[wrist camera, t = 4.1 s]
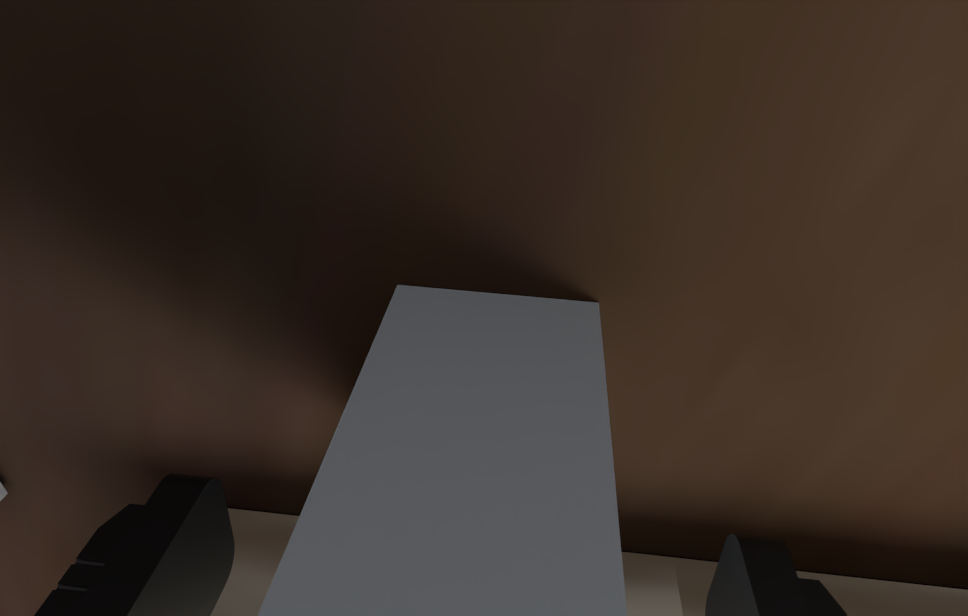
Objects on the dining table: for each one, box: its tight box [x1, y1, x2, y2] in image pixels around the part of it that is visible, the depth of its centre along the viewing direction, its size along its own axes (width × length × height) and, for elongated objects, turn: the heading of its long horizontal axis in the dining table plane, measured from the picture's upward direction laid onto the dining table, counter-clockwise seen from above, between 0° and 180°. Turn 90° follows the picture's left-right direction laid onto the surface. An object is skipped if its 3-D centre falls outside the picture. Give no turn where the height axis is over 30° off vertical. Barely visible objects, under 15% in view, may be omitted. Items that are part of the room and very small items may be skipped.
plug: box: [257, 285, 627, 616], centre depth 10 cm, size 4×4×10 cm
